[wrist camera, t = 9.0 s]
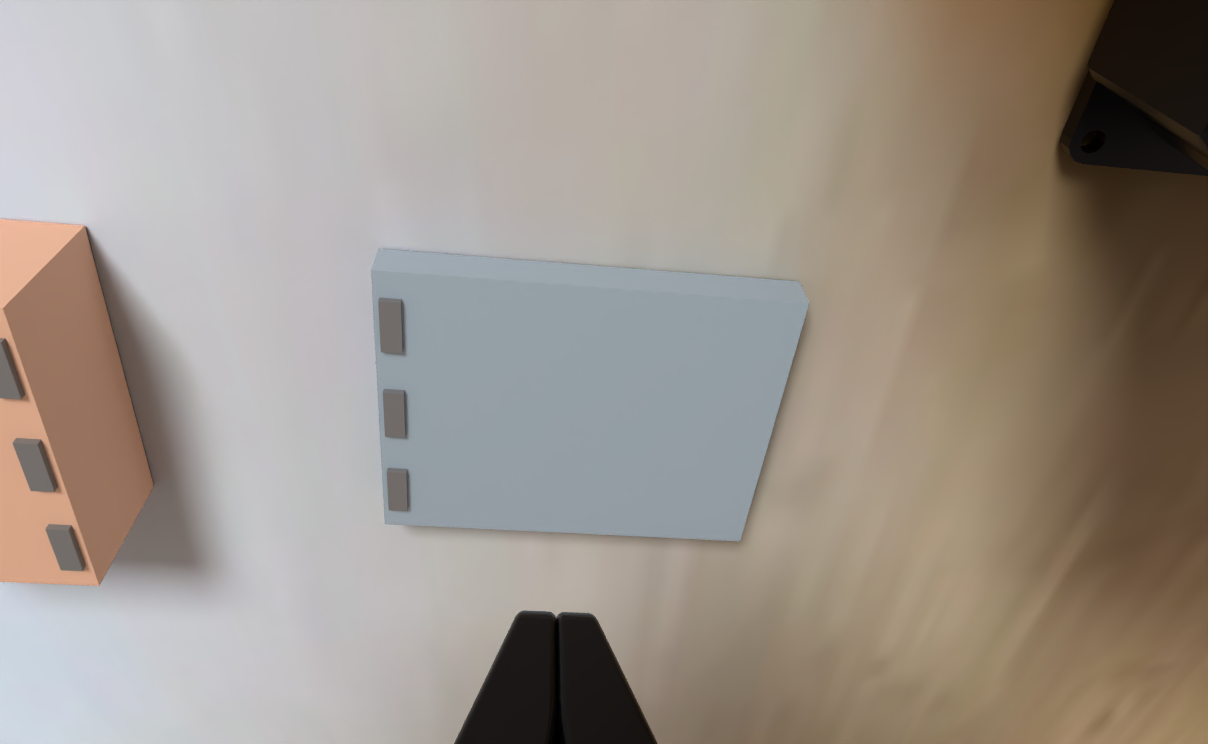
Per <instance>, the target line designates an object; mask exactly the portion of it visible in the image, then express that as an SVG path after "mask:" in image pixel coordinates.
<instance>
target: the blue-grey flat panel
mask: <svg viewBox="0 0 1208 744" xmlns="http://www.w3.org/2000/svg"><path fill="white" fill-rule="evenodd" d="M371 276H372V295H373V313H374V332H375V350H376V369H377V387H378V406H379V424H380V443H381V461H382V480H383V498H384V517H385V524H393V525H413V526H434V527H455V528H476V529H496V530H517V531H538V532H558V533H579V534H600V535H621V536H641V537H662V538H683V539H703V540H724V541H740V540H741V537H742V533H743V530H744V526H745V523H746V519H747V516H748V513H749V509H750V506H751V502H752V499H753V495H754V492H755V489H756V485H757V482H758V478H759V475H760V471H761V468H762V464H763V461H764V458H765V454H766V451H767V447H768V444H769V440H770V437H771V433H772V430H773V427H774V423H775V420H776V416H777V413H778V409H779V406H780V403H781V399H782V396H783V392H784V389H785V385H786V382H787V378H788V375H789V372H790V368H791V365H792V361H793V358H794V354H795V351H796V348H797V344H798V341H799V337H800V334H801V330H802V327H803V323H804V320H805V317H806V313H807V310H808V306H809V301H808V299H807V297H806V294H805V292H804V290H803V288H802V285H801V283H800V282H799V281H787V280H774V279H761V278H748V277H735V276H723V275H710V274H697V273H684V272H672V271H659V270H646V269H633V268H620V267H608V266H595V265H582V264H569V263H556V262H544V261H531V260H518V259H505V258H493V257H480V256H467V255H454V254H441V253H429V252H416V251H403V250H390V249H379V250H378V253H377V255H376V258H375V261H374V264H373V266H372V269H371Z"/></svg>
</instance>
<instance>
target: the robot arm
mask: <svg viewBox="0 0 1208 744" xmlns="http://www.w3.org/2000/svg"><path fill="white" fill-rule="evenodd" d="M1088 68H1089V72H1088V74H1087V77H1086V79H1085V81H1084V84H1083V86H1082V88H1081V91H1080V93H1079V95H1078V98H1077V100H1076V102H1075V105H1074V107H1073V109H1072V111H1071V114H1070V116H1069V118H1068V121H1067V123H1066V125H1065V128H1064V130H1063V132H1062V136H1061V140H1060V143H1061V147H1062V150H1063V151H1064V152H1065V153H1066V154H1067V155H1068V156H1069V157H1071V158H1072V159H1073V160H1074V161H1075V162H1079V163H1082V164H1089V165H1099V166H1110V167H1121V168H1131V169H1142V170H1152V171H1163V172H1173V173H1184V174H1194V175H1205V176H1208V0H1115V1H1114V4H1113V6H1112V8H1111V11H1110V13H1109V15H1108V18H1107V20H1106V22H1105V25H1104V27H1103V29H1102V32H1101V34H1100V36H1099V39H1098V41H1097V43H1096V46H1095V48H1094V50H1093V53H1092V55H1091V57H1090V60H1089V62H1088ZM1095 130H1096V135H1095V137H1094V138H1093V140H1092V141H1091V142H1090V143H1088V144H1087V145H1084V146H1081V142H1082V140H1083V138H1084V137H1085V135H1087V134H1088V133H1090V132H1091V131H1095ZM454 744H658V743H657V741H656V739H655V737H654V735H653V733H652V731H651V729H650V727H649V725H648V723H647V721H646V719H645V717H644V714H643V712H642V710H641V708H640V706H639V704H638V702H637V700H636V698H635V696H634V694H633V692H632V690H631V688H630V686H629V684H628V682H627V680H626V678H625V675H624V673H623V671H622V669H621V667H620V665H619V663H618V661H617V659H616V657H615V655H614V653H613V651H612V649H611V647H610V645H609V643H608V641H607V639H606V636H605V634H604V632H603V630H602V628H601V626H600V624H599V622H598V620H597V619H596V618H595V616H594V615H592V614H590V613H571V612H562V613H560V614H558V616H557V617H555V615H554V614H553V613H551V612H546V611H521V612H519V613H518V614H517V615H516V617H515V619H514V621H513V623H512V625H511V627H510V629H509V631H508V633H507V635H506V637H505V639H504V642H503V644H502V646H501V648H500V650H499V652H498V654H497V656H496V658H495V660H494V662H493V664H492V666H491V669H490V671H489V673H488V675H487V677H486V679H485V681H484V683H483V685H482V687H481V689H480V691H479V693H478V695H477V698H476V700H475V702H474V704H473V706H472V708H471V710H470V712H469V714H468V716H467V718H466V720H465V722H464V725H463V727H462V729H461V731H460V733H459V735H458V737H457V739H456V741H455V743H454Z"/></svg>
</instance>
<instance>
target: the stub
mask: <svg viewBox="0 0 1208 744" xmlns="http://www.w3.org/2000/svg"><path fill="white" fill-rule="evenodd" d="M153 487H154V485H153V481H152V477H151V474H150V470H149V466H148V462H147V459H146V455H145V451H144V447H143V443H142V440H141V436H140V432H139V428H138V425H137V421H136V417H135V413H134V410H133V406H132V402H131V398H130V394H129V391H128V387H127V383H126V379H125V376H124V372H123V368H122V364H121V361H120V357H119V353H118V349H117V346H116V342H115V338H114V334H113V330H112V327H111V323H110V319H109V315H108V312H107V308H106V304H105V300H104V297H103V293H102V289H101V285H100V282H99V278H98V274H97V270H96V266H95V263H94V259H93V255H92V251H91V248H90V244H89V240H88V236H87V233H86V229H85V226H83V225H71V224H58V223H45V222H32V221H20V220H7V219H0V582H19V583H43V584H68V585H93V586H99V585H100V583H101V582H102V580H103V578H104V576H105V574H106V573H107V571H108V569H109V567H110V565H111V563H112V562H113V560H114V558H115V556H116V554H117V553H118V551H119V549H120V547H121V545H122V543H123V542H124V540H125V538H126V536H127V534H128V533H129V531H130V529H131V527H132V525H133V523H134V522H135V520H136V518H137V516H138V514H139V513H140V511H141V509H142V507H143V505H144V503H145V502H146V500H147V498H148V496H149V494H150V493H151V491H152V489H153Z"/></svg>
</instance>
